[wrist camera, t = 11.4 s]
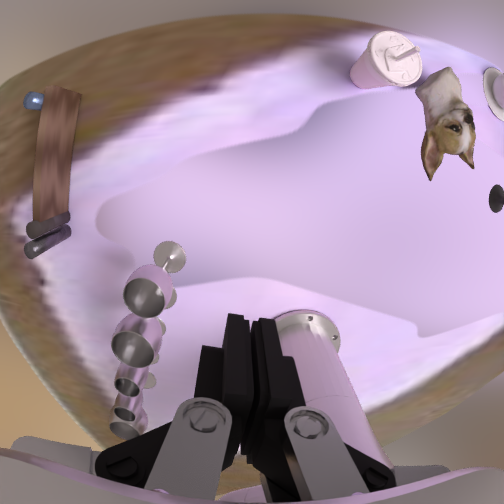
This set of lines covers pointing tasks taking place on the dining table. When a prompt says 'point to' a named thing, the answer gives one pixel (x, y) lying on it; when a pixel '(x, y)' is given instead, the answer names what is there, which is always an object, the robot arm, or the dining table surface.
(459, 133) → the ceramic sculpture
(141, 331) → the goblet set
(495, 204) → the sundae
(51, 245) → the grey upright cylinders
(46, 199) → the gate
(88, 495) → the robot arm
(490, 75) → the teacup
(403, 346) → the dining table surface
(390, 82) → the smoothie
